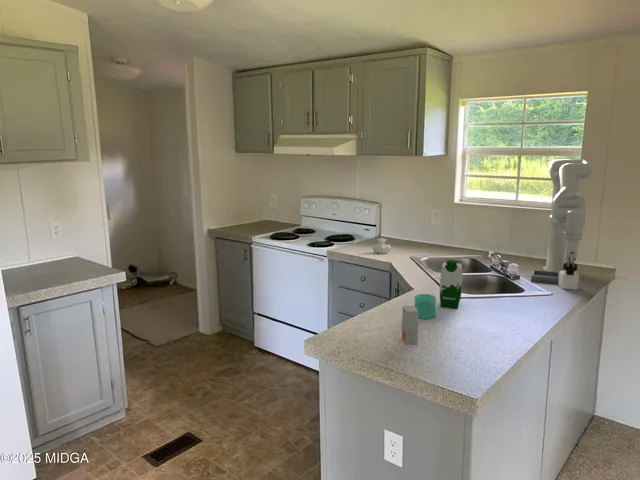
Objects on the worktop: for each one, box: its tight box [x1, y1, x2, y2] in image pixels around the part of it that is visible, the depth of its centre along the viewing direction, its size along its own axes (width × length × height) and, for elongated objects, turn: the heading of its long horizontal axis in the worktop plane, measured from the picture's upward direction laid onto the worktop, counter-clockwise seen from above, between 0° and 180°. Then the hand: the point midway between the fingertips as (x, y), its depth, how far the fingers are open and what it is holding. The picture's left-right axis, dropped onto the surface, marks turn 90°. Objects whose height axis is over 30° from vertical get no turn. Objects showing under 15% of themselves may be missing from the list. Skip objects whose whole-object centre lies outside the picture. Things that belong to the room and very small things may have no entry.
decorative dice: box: [414, 293, 437, 320], centre depth 194 cm, size 8×8×8 cm
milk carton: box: [439, 259, 463, 310], centre depth 205 cm, size 9×9×20 cm
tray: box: [530, 269, 559, 285], centre depth 247 cm, size 13×13×3 cm
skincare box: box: [401, 305, 419, 345], centre depth 168 cm, size 6×4×12 cm
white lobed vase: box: [372, 237, 392, 255], centre depth 307 cm, size 12×8×11 cm
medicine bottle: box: [557, 261, 580, 290], centre depth 232 cm, size 7×7×12 cm
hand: (569, 272), depth 232 cm, fingers closed on medicine bottle, 7 cm apart
